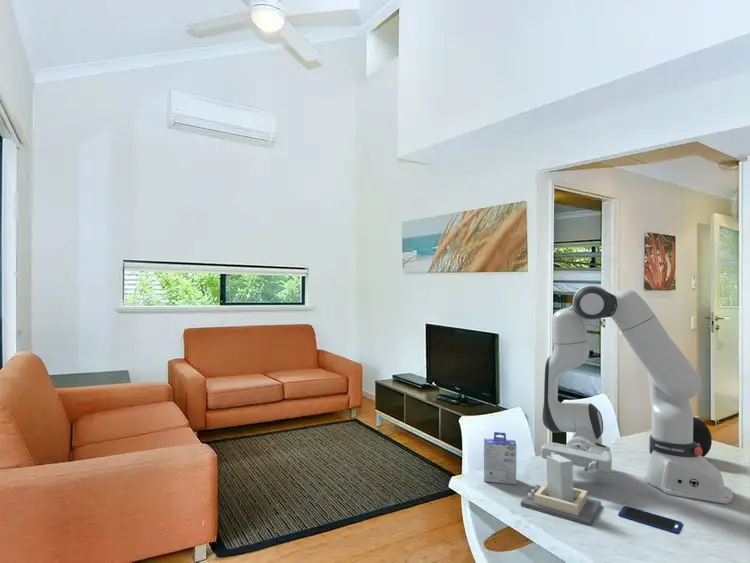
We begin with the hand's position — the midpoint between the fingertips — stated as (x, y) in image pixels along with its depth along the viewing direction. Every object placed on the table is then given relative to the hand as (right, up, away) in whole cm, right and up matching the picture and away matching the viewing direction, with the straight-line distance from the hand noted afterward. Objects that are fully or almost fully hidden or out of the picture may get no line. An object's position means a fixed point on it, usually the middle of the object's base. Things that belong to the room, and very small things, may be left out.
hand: (570, 464), depth 139 cm
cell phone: (+15, -9, -15) cm, 23 cm away
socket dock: (-6, -8, -8) cm, 13 cm away
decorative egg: (+56, -10, +29) cm, 64 cm away
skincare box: (-6, -8, -7) cm, 12 cm away
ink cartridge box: (-18, -9, +9) cm, 22 cm away
